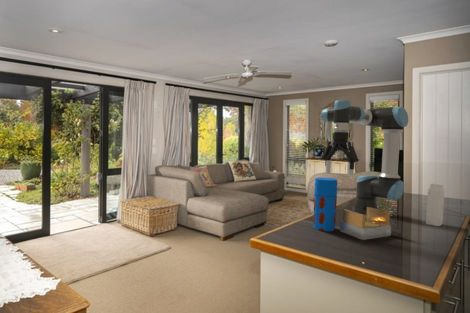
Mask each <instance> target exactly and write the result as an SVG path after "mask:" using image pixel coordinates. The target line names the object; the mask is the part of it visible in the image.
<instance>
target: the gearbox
mask: <svg viewBox="0 0 470 313" xmlns="http://www.w3.org/2000/svg"><path fill="white" fill-rule="evenodd" d="M390 213H391V212H390V211H387V210H381V209H379V208H378V209H375V208H371V207H367V214H362V213H357V212H354V211H353V210H349V209H346V208H345V209H343V210H342V220H340V226H339V227H340V229H339V230H340V231H339V232H341V233H344V234H347V235H349V236H352V237H354V238H356V239H358V240H359V239H360V240H362V241H366V240H372V239H378V238H379V239H380V238H385V237H391V236H392V235H391V234H392V225H391V224H390V218H391V217H390V216H391V214H390Z"/></svg>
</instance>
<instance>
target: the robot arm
mask: <svg viewBox="0 0 470 313" xmlns="http://www.w3.org/2000/svg"><path fill="white" fill-rule="evenodd" d="M320 114H321V116H320V117H321V120H322V121H323V122H325V123H332V124H333V125H332V126H333V127H332V130H333V132H332V140H333V141H331V140H329V141H328V142H327V147H326V149H325V150H324V153H323V155H322V159H323V160H324V161H325V162H324V164H325V173H326V174H331V171H332V169H331V168H332V160H331V159H332V158H333V156H334V155H335V154H336V152H339V151H341V152H343V154H344V155H345V157H346V159H347V160H348V163H347V173H346V174H347V175H346V176H347V177H353V172H354V169H355V163H356V162H359V158H358V155H357V152H356V150H355V147H354V142H353V141H349V138H350V137H349V136H350V135H349V134H350V133H349V131H350V124H360V125H362V126H367V127H372V128H373V127H374V128H381V129H380V131H382V133H383V143H382V157H381V172H380V174H379V175H377V174H376V175H375V174H374V175H373V174H372V175H371V174H369V175H358V177H357V179H356V198H355V201H354V203H353V204H354V205H353V206H352V211H353V212H357V213H360V214H363V215H367V207H371V208H375V209H379V206H378V202H377V198H380V199H384V200H385V199H386V200H389V201H390V200H392V201H397V200H399V199H400V198H401V197H402V196H403V193H404V191H405V183H404V181H402V180H401V176H400V175H399V161H400V160H399V157H400V156H399V155H400V140H401V133H402V132H404V128H406V127H407V126H408V124H409V114H408V111H407V109H405V108H404V107H403V106H390V107H377V108H371V109H370V108H369V109H367V108H366V109H364V108H362V107H360V106H353V105H352V103H351V101H350V100H348V99H338V100H335V101H334V105H333V107H328V108H324V109H322V110H321V113H320Z"/></svg>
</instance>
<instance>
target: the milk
mask: <svg viewBox="0 0 470 313" xmlns="http://www.w3.org/2000/svg"><path fill="white" fill-rule="evenodd" d="M443 187H444V186H443V184H434V183H430V186H429V188H428V189H427V200H426V215H425V224H426V225H430V226H434V227H440V226H442V225H443V217H444V203H445V202H444V201H445V189H444V188H443Z"/></svg>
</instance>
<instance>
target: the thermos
mask: <svg viewBox="0 0 470 313" xmlns="http://www.w3.org/2000/svg"><path fill="white" fill-rule="evenodd" d="M313 198H314V199H313V217H312V218H313V220H312V221H313V224H312V225H313V229H315V230H317V231H321V232H333V231H335V230H336V222H337V221H336V220H337V198H338V179H337V178H333V177H316V178H315V179H314V197H313Z"/></svg>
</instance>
